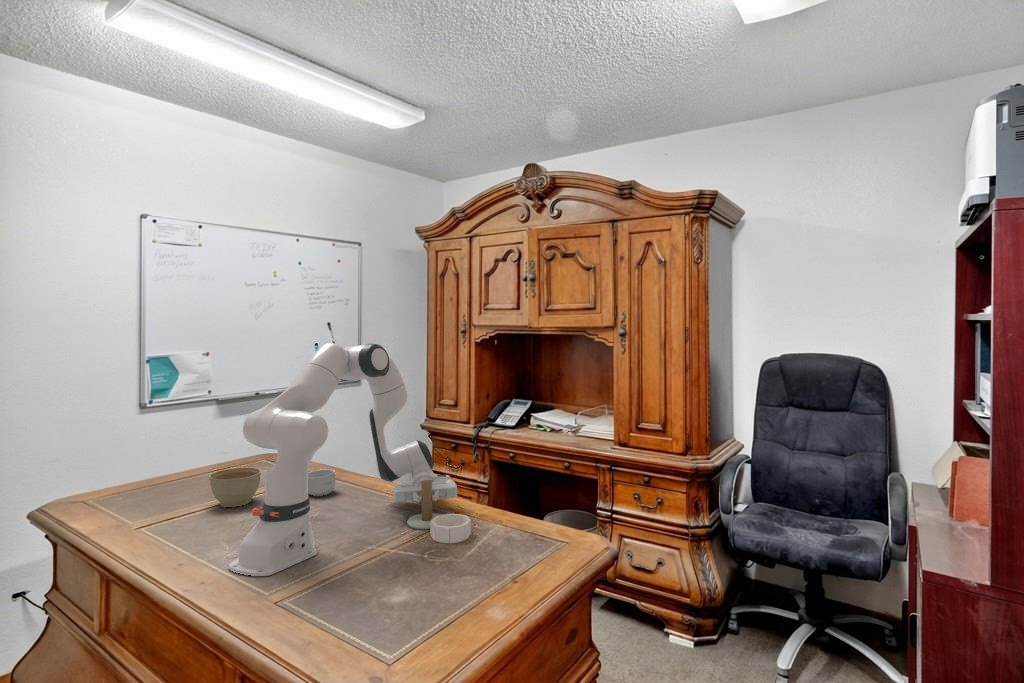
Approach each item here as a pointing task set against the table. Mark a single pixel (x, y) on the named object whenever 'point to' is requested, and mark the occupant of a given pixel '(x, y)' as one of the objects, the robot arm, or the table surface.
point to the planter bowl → (235, 485)
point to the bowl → (450, 528)
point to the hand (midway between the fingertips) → (427, 499)
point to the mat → (416, 529)
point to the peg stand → (424, 508)
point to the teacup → (321, 482)
